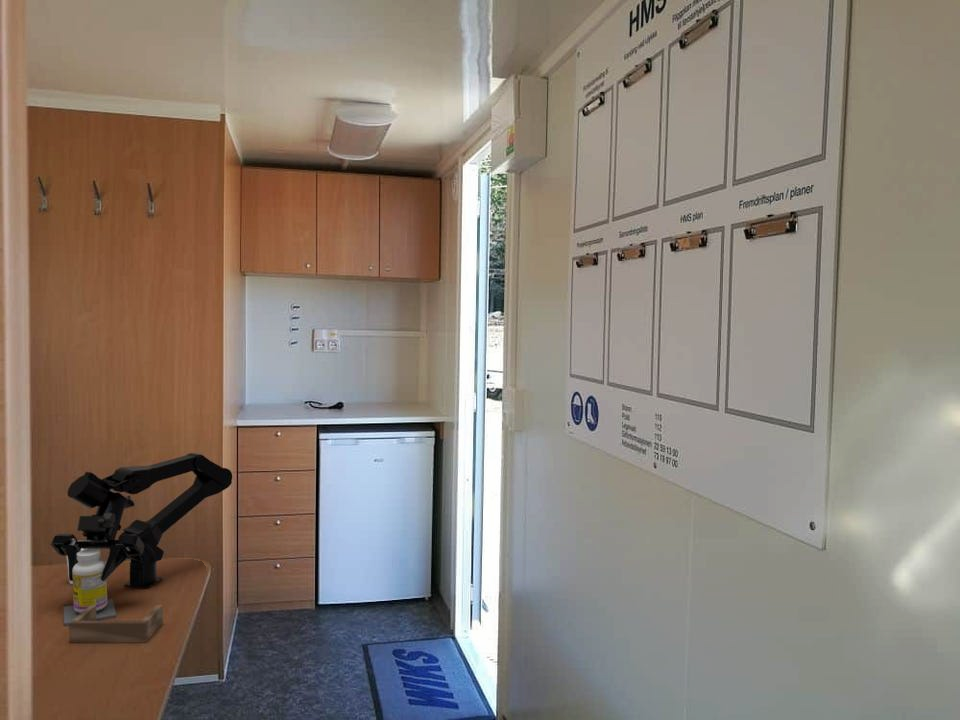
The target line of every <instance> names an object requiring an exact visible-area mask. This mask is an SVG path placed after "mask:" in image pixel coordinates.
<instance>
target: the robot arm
mask: <svg viewBox="0 0 960 720" xmlns="http://www.w3.org/2000/svg"><path fill="white" fill-rule="evenodd" d="M190 472H192V473H193V474H194V475H195V479H194V481H193V484H192V485H191V486H190V487H188V488H187V489H185V491H184V492H182V493H181V494H179V496H177V497H176V498H175V499H173V500H172V501H171V502H169V504H167V505H166V506H165V507H163V508H162V509H161V510H160V511H159V512H157V513H156V514H155V515H154V516H152V517H150V519H148V520H146V521H143V520H140V519H135V520H134V521H132V522H131V523H130V524H129V526H127V527H125V528H123V529H122V525H121V521H122V518H123V515H124V511H125V510H126V509H129V508H132V507H135V502H134V501H133V499H132V498H131V496H130V495H138V494H139V493H142V492H144V491H146V490H147V489H149V488H151V487H152V486H153V485H154V484H156V483H158V482H160V481H161V482H162V481H163V480H167V479H170V478H174V477H177V476H179V475H180V476H181V475H183V474H187V473H190ZM232 473H233V472H232V471H231V469H229V468H227V467H222V466H220V465H219V464H217V463H215V462H214V461H212V460H210V459H208V458H207V457H206V456H204V454H200V453H194V452H189V453H187V454H186V455H184V456H183V455H182V456H179V457H176V458H172V459H169V460H165V461H161V462H157V463H154V464H151V465H141V466H140V465H137V466H136V465H133V466H132V465H131V466H122V467H119V468H117V469H115V470H114V472H113V474H110V475H108V476H106V477H103V478H100V477H98V476H97V475H96V474H94V473H93V472H90V471H85V473H84V474H83V475H81V476H79V477H78V478H77V479H75V480H74V481H72V482H71V484H70V485H69V487H68V489H67V496H68V498H69V499H72V500H73V501H75V502H78V504H81V505H82V506H84V507H86V508H88V509H93V508H95V507H97V508H96V511H95V514H92V515H80V516H79V519H78V526H77V530H76V531H77V532H79V531H80V532H82V536H83V538H84V537H86V538H85V539H77V537H76V536H75V535H74V533H58V534H56V535H54V536H53V538H52V540H51V542H50V546H52V548H53V550H55V552H56V553H57V554H58V555H59V556H63V557H64V556H65V557H66V556H68V562H69V576H68V581H69V580H70V581H73V575H72V570H73V567H74V566H75V565H76V564H77V563H78V560H77V553H78V552H80V551H81V549H99V550H102V549H105V550H106V549H107V550H109V554H108V558H107V561H106V562H105V564H106V565H105V568H104V570H103V573H102V577H101V580H102V581H105V580H106V581H107V579H108V578H109V577H110V575H112V573H113V572H114V571H115V570H117V568H119V566H120V565H122V564H123V562H125V561H126V560H130V561H129V581H127V582H125V583H124V584H123V586H124V588H126V587H127V588H139V589H140V588H141V589H149V588H152V587H153V586H155V584H158V583H159V582H160V581H161V580H163V577H162V576H157V562H159V561H162V559H163V556H164V554H165V553H164V552H165V551H164V549H162V548H161V547H158V545H159V544H160V541H161V538H162V536H163V535H164V533H166V531H168V530H169V529H171V528H172V527H173V526H174V525H175V524H177V523H178V522H179V521H180V520H181V519H182V518H183V517H185V516H186V515H187V514H188V513H190V512H191V511H192V510H193V509H194V508H195V507H196V506H198V505H199V504H200V503H201V502H203V501H204V500H206V498H210V497H212V496H215V495H217V494H220V493H221V492H223V491H225V490H227V489H228V488H229V487H230V486H231V485H232V482H233V481H232V480H233V474H232ZM113 491H114V492H113ZM122 493H126V494H130V495H128V496H125V495H123V494H122ZM121 529H122V533H120V534H119V536H118V537H117V533H118V531H121ZM116 537H117V538H118V539H116Z"/></svg>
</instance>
